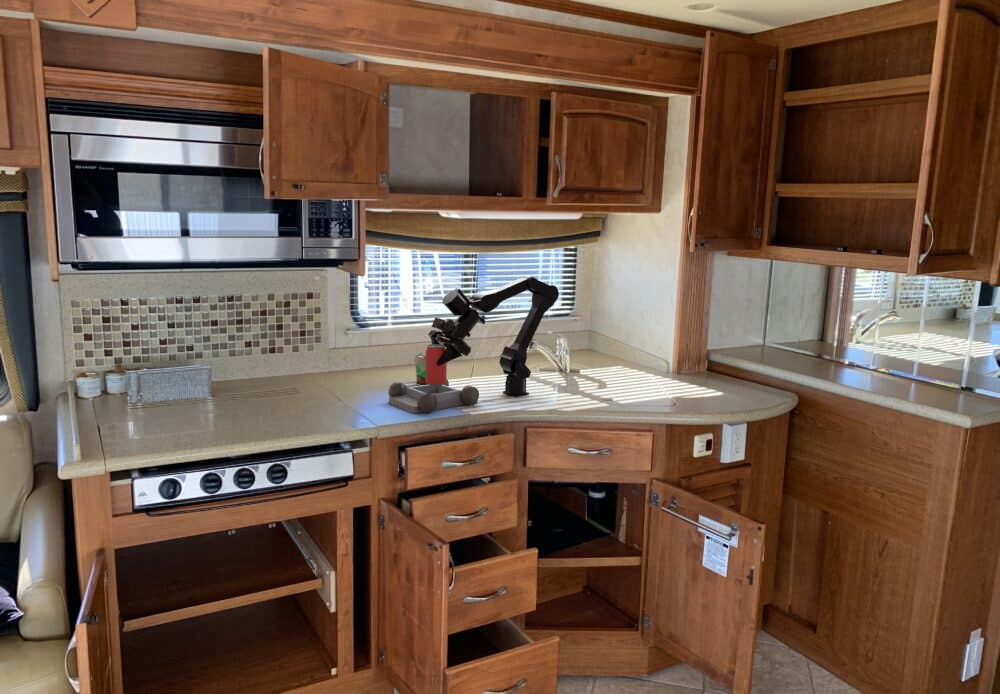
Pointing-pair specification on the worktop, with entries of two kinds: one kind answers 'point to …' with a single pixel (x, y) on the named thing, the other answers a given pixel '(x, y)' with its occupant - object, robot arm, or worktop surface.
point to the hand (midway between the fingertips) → (432, 362)
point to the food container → (420, 368)
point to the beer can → (435, 365)
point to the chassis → (430, 397)
